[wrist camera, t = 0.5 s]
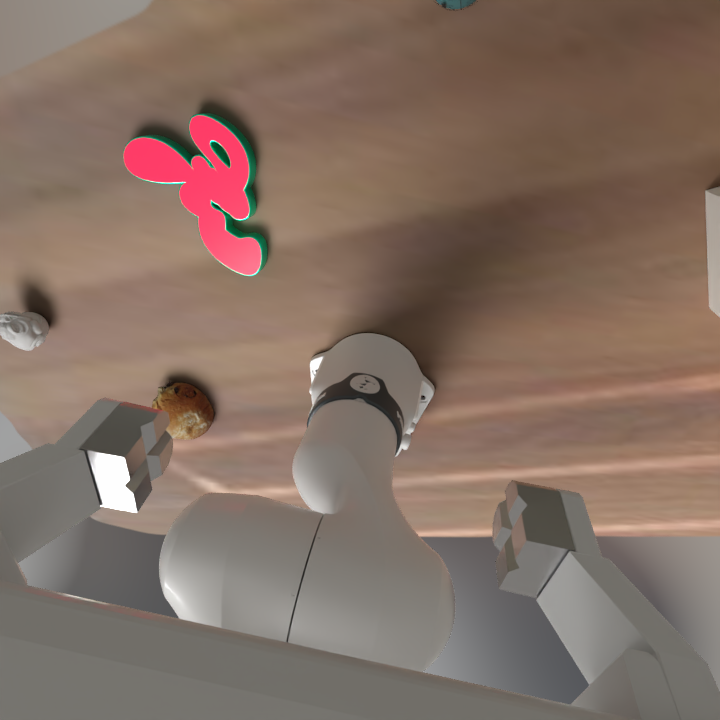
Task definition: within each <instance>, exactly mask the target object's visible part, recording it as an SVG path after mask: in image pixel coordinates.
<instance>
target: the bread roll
mask: <svg viewBox="0 0 720 720" xmlns="http://www.w3.org/2000/svg"><path fill="white" fill-rule="evenodd" d="M152 408H154V409H159V410H163V411H166V412H168V414H169V419H170V424H169V426H168V427H167V429H166V431H167V432H168V433H169V434H170V435H171V436H172V438H177V439H185V440H189V439H195V438H197V437H200V436H201V435H203V434H204V433H205V432H206V431H207V430H208V429H209V428H210V426H211V424H212V421H213V416H214V414H213V408H212V407H211V404H210V403H209V401H208V399H207V398H206V396H205V395H204V394H203V393H202V392H201V391H200V390H199V389H197V388H196V387H194V386H192V385H190V384H187V383H172V382H169V383H168V385H167V387H164V388H163V387H159V388H158V396H157V397H156V399H154V400H153V405H152Z"/></svg>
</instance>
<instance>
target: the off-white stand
mask: <svg viewBox="0 0 720 720" xmlns="http://www.w3.org/2000/svg"><path fill="white" fill-rule="evenodd" d="M705 199H706V230H707V260H708V291H709V308H710V309H711V310H712V311H713V312H714V313H715V314H716V315H718V316H719V317H720V187H716V188H713V189H709V190H706V191H705Z"/></svg>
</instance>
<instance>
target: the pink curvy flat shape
mask: <svg viewBox="0 0 720 720" xmlns="http://www.w3.org/2000/svg"><path fill="white" fill-rule="evenodd" d="M189 133H190V136H191V138H192V140H193V142H194V143H195V145H196V146H197V148H198V149H199V150H200V151H201V154H197V155H195V156H192V155H191V154H190V153H189V152H188V151H187V150H186V149H184V148H183V147H182V146H181V145H179V144H178V143H176V142H175V141H173V140H171V139H169V138H166V137H163V136H159V135H147V136H140V137H136V138H134V139H132V140H130V141H129V142H128V143H127V145H126V146H125V148H124V151H123V160H124V164H125V166H126V168H127V170H128V171H129V172H130V173H131V174H132V175H134V176H135V177H137V178H139V179H141V180H144V181H148V182H153V183H160V184H181V186H180V188H179V198H180V201H181V203H182V205H183V206H184V207H185V208H186V209H187V210H188V211H189V212H190V213H191V214H193V215H195V216H196V217H198V229H199V234H200V237H201V239H202V241H203V243H204V245H205V247H206V248H207V250H208V251H209V252H210V254H211V255H212V256H213V257H214V258H215V259H216V260H218V261H219V262H220V263H221V264H223V265H224V266H226V267H227V268H229V269H231V270H232V271H234V272H236V273H238V274H241V275H245V276H253V275H256V274H257V273H258V272H259V271H260V270H262V269H263V268H264V266H265V264H266V261H267V254H268V250H267V243H266V241H265V239H264V237H263V236H262V235H261V234H259V233H255V232H251V233H247V234H246V233H243V232H241V231H239V230H238V229H236V228H235V227H234V226H233V218H234V219H235V220H238V221H243V220H246V219H248V218H249V217H251V216H253V215H254V214H255V212H256V200H255V197H254V194H253V191H252V189H251V186H252V184H253V182H254V179H255V175H256V160H255V155H254V152H253V150H252V147H251V145H250V144H249V142H248V140H247V139H246V138H245V136H244V135H243V134H242V133H241V132H240V131H239V130H238V129H237V128H236V127H235V126H234V125H233V124H231V123H230V122H229V121H227V120H225V119H224V118H222V117H220V116H218V115H215V114H212V113H201V114H196V115H194V116H192V117H191V119H190V122H189ZM219 145H220V146H221V147H222V148H223V149H224V150H225V151H226V153H227V155H228V156H227V155H226V154H225V153H224V152H223V150H222V149H221V148H220V146H219Z"/></svg>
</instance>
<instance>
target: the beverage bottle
mask: <svg viewBox="0 0 720 720" xmlns="http://www.w3.org/2000/svg"><path fill="white" fill-rule="evenodd" d="M436 1H437V2H438V3H439V4H440V5H442V7H444V8H450V9H453V10H454V9H460V8H464V7H466V6H467V7H469V6H468V5H470V4H472V3H474V2H476V0H436ZM434 2H435V1H434ZM435 3H436V2H435ZM438 3H437V4H438ZM472 5H473V4H472ZM470 6H471V5H470ZM446 10H447V9H446ZM451 11H452V10H451ZM458 11H459V10H458Z"/></svg>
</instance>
